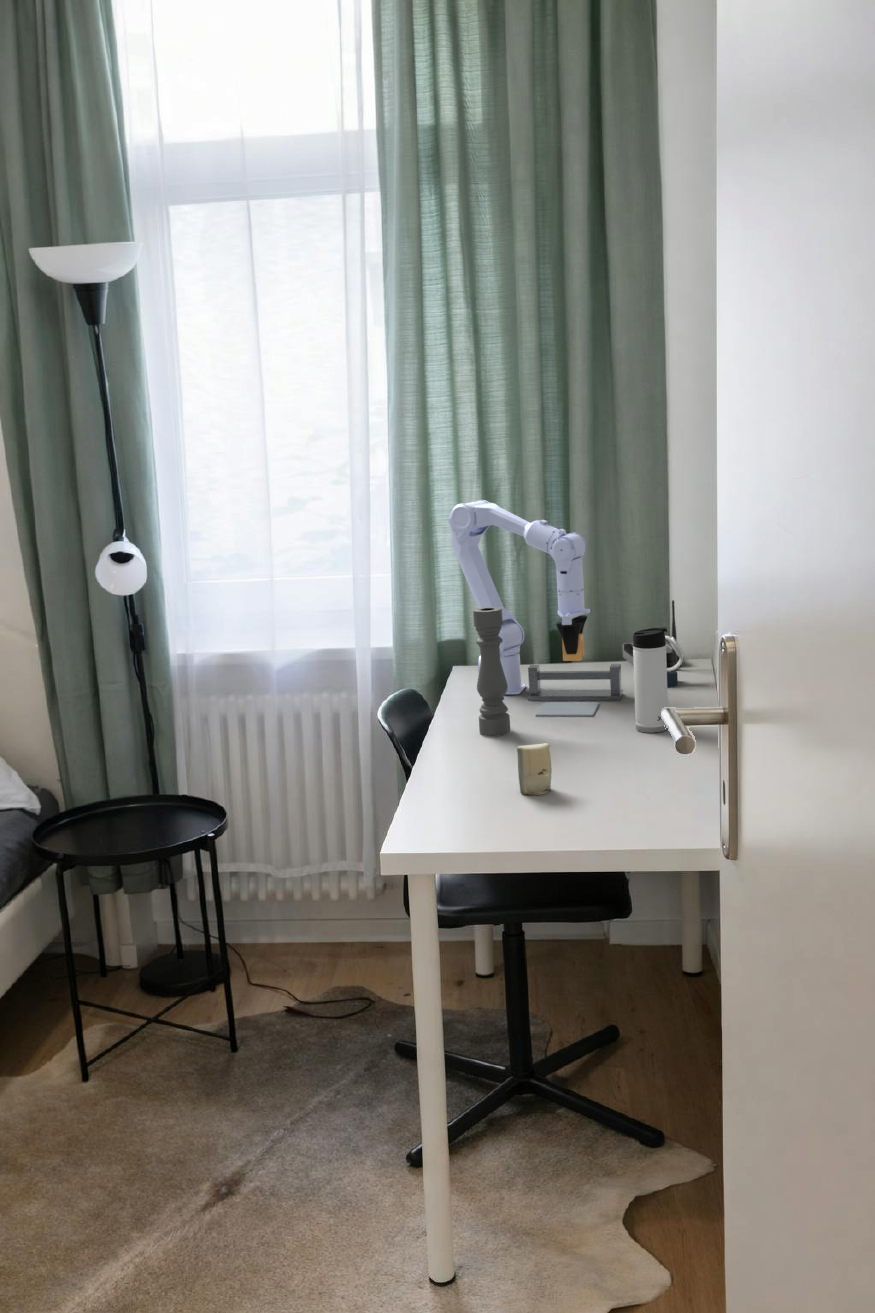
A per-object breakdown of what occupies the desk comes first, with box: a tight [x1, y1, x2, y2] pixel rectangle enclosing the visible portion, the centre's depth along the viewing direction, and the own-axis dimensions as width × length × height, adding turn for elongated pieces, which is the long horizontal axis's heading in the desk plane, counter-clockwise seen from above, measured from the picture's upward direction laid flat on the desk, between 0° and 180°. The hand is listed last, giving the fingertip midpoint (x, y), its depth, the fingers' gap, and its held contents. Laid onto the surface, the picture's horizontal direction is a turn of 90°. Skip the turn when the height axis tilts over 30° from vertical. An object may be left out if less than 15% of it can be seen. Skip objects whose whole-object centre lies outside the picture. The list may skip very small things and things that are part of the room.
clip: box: [561, 632, 585, 662], centre depth 246 cm, size 4×4×5 cm
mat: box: [535, 701, 600, 717], centre depth 238 cm, size 12×10×1 cm
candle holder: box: [472, 607, 511, 737], centre depth 223 cm, size 6×6×25 cm
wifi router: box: [622, 599, 682, 671], centre depth 274 cm, size 20×14×17 cm
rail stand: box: [527, 663, 623, 702], centre depth 247 cm, size 20×6×7 cm, turn 74°
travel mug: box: [632, 626, 669, 734], centre depth 217 cm, size 6×7×20 cm
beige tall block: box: [516, 742, 553, 796], centre depth 187 cm, size 6×5×8 cm
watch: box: [665, 635, 685, 688], centre depth 253 cm, size 6×8×11 cm
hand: (573, 651), depth 246 cm, fingers closed on clip, 4 cm apart
